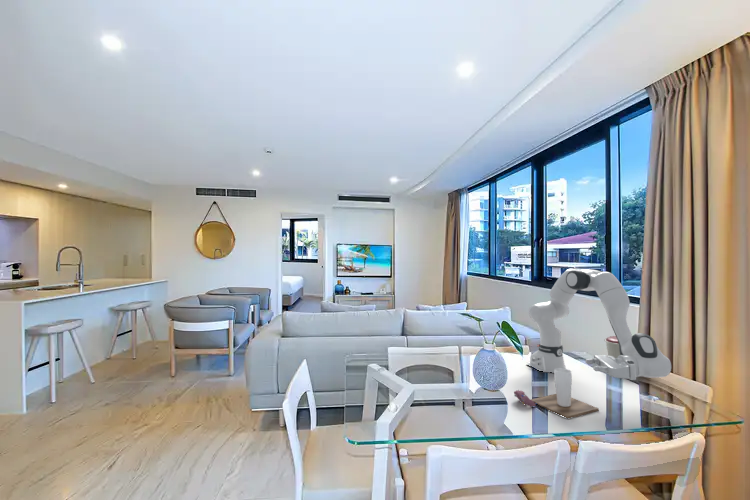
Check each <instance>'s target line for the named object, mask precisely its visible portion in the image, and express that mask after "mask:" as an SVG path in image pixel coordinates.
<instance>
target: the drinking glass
mask: <svg viewBox="0 0 750 500" xmlns="http://www.w3.org/2000/svg"><path fill="white" fill-rule="evenodd" d="M553 375H554V384H555V394H556V395H557V404H558V405H560V406H562V407H570V406H571V398H572V385H573V384H572V383H573V379H572V377H573V375H572V371H571V370H570V369H569V368H568V369H567V368H566V369H563V368H557V369H555V370H554V373H553Z"/></svg>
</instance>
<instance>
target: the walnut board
mask: <svg viewBox="0 0 750 500" xmlns="http://www.w3.org/2000/svg"><path fill="white" fill-rule="evenodd" d="M530 399H531V400H532V401H533V402H534V403H537V404H538V405H540V406H542V407H544V408H546V409H547V411H548V410H550V411H549V412H551V411H552V412H551V413H553V412H555V413H557V414H559V415H562V416H564V417H566V418H570V419H572V418H571V417H573V418H577V417H580V416H581V417H582V416H584V415H585V416H586V415H588V414H591V413H595V412H600V411H599V410H600V409H599V407H597V406H594V405H591V404H589V403H587V402H584V401H581V400H579V399H577V398H574V397H571V406H570V407H562V406H560V405H558V404H557V395H556V393H552V394H549V395H545V396H540V397H536V398H530ZM538 405H537V406H538ZM540 406H539V407H540ZM542 407H541V408H542ZM544 408H543V409H544ZM546 409H545V410H546ZM555 413H554V414H555ZM557 414H556V415H557ZM559 415H558V416H559Z"/></svg>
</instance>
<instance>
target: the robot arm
mask: <svg viewBox="0 0 750 500" xmlns="http://www.w3.org/2000/svg"><path fill="white" fill-rule="evenodd" d="M577 291H584V292H591V291H595V292H596V294H597V296H598V298H599V299H600V302H601V303H602V306H603V308H604V310H605V312H606V315H607V317H608V321H609V323H610V326H611V328H612V331H613V333H614V336H616V338H617V340H618V343H619V351H620V355H619V356H618V358H614V357H613V356H608V354H607V355H605V354H595V355H593V358H586V359H585V363H586V364H587V365H592V364H595V365H593V366H592V367H593V370H594V371H595V372H601V373H605V374H607V375H609V376H610V377H612V378H615V379H628V380H631V381H636V380H637V378H639V377H644V378H666V377H667V376H669V375H670V374H671V372H672V362H671V360H670V358H668V357H667V356H666V355H664V353H663V352H662V351H661V349H659V347H658V346H657V343H656V340H655V339H654V338H653V337H652V336H651V335H649V334H647V333H643V332H638V333H635V334H633V333H632V332H631V330H630V327H629V325H628V322H627V314H628V310H629V307H630V302H631V301H630V298H629V295H628V293H627V291H626V290H625V287H624V286H623V285H622V284H621V282H620V280H618V278H617V277H616V276H615V275H614V274H613V273H612V272H609V271H603V270H600V269H591V268H590V269H588V268H587V269H583V268H582V269H580V268H577V269H574V268H568V269H566V270H565V271H564V272H563V273H561V275H560V276H559V277H558V278H557V280H556V281H555V282H554V285H553V286H552V287H551V289H550V290H549V295H550V299H549V300H548V301H544V302H543V301H542V302H537V303H535V304H532V305H530V307H529V309H528V315H529V317H530V319H531V320H532V321H533V322H534V323H535V324H536V326H537V329H538V331H539V339H540V344H538V345H536V347H537V348H538V350H536V351H535V352H533V353H532V354H531V355H530V357H529V359H530V360H529V361H528V362H530V363H528V362H526V363H527V364H528V365H530V366H532V367H534V368H536V369H537V370H539V371H543V372H542V373H550V372H552V373H553V374H554V370H555V369H557V368H563V369H567V367H566V364H565V359H564V354H563V353H564V351H563V350H564V347H563V344H562V333H561V332H562V331H561V330H560V329H559V328H557V327H556V325H555V323H554V322H555V321H558V320H559V321H560V320H562V319H564V318H567V317H568V316H569V314H570V307H569V303H570V301H571V300H572V298H574V296H575V294H576V293H577ZM632 334H633V335H632ZM537 370H536V371H537ZM539 371H538V372H539ZM552 373H551V374H552Z"/></svg>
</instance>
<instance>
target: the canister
mask: <svg viewBox="0 0 750 500" xmlns="http://www.w3.org/2000/svg"><path fill="white" fill-rule="evenodd" d="M604 342H605V345H606V350H607V351H606V352H607V355H608V356H613V357H614V358H618V356H619V355H620V351H619V343H618V340H617V338H616V335H612V336H607V337H606V338H604Z"/></svg>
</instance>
